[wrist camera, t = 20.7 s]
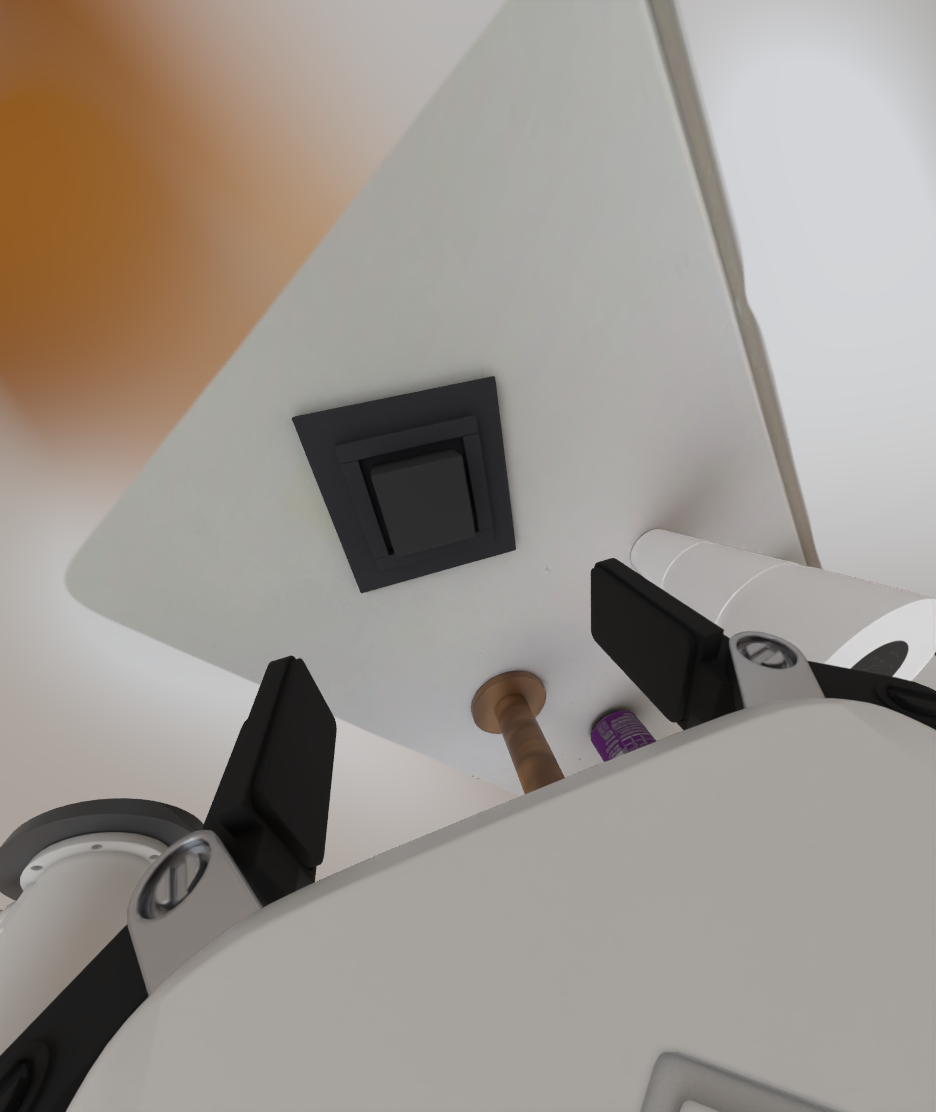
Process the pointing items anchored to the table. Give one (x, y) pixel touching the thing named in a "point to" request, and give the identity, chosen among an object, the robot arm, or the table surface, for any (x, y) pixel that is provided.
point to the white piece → (794, 603)
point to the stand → (518, 725)
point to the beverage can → (619, 735)
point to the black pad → (424, 501)
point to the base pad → (399, 432)
